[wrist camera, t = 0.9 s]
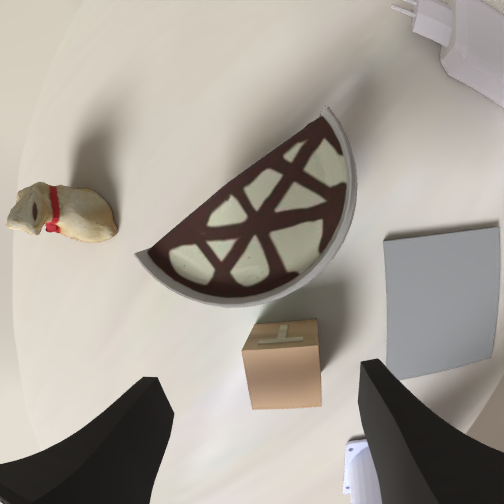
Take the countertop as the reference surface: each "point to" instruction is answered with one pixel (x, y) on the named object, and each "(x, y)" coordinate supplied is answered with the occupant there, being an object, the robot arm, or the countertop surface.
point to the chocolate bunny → (63, 213)
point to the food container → (264, 224)
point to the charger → (465, 41)
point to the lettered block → (283, 365)
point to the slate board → (441, 300)
